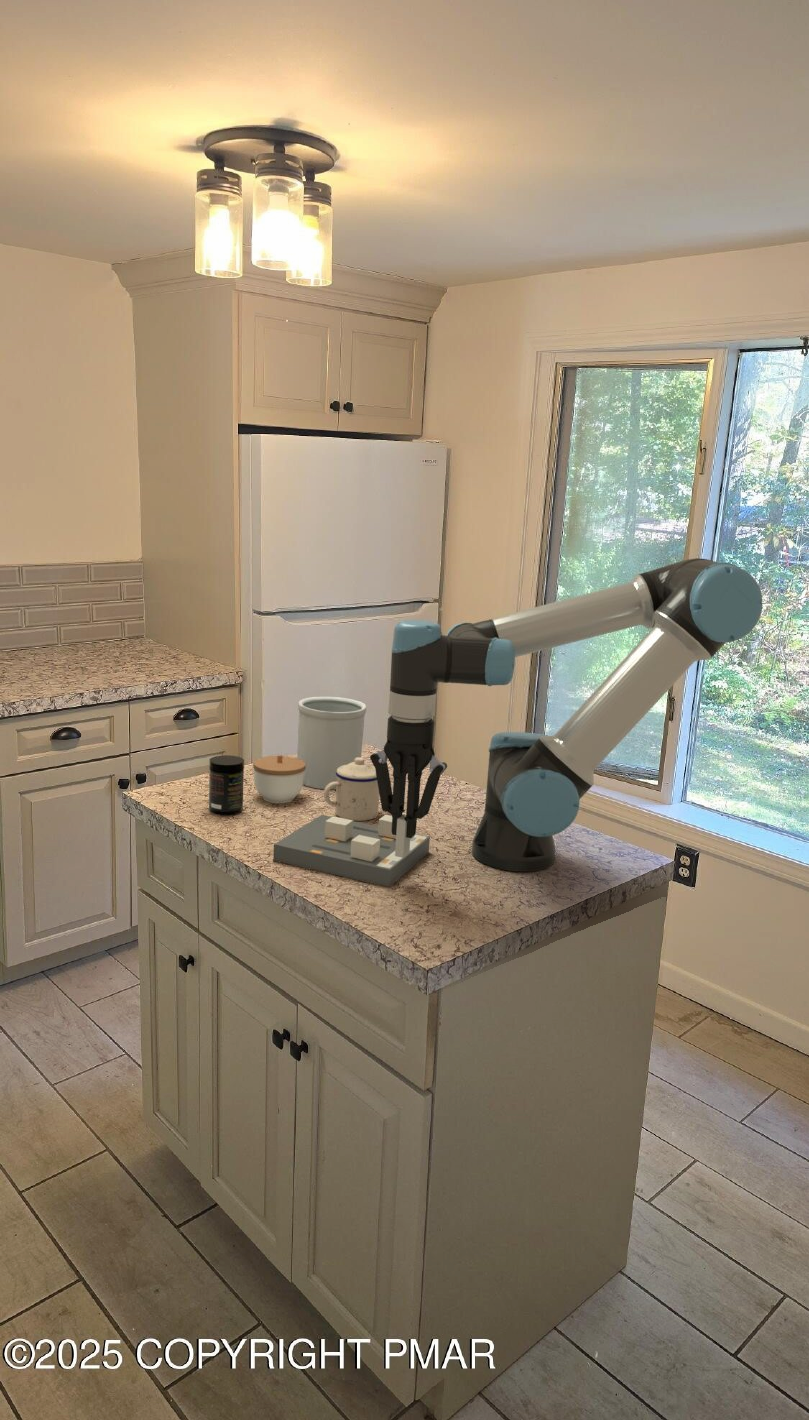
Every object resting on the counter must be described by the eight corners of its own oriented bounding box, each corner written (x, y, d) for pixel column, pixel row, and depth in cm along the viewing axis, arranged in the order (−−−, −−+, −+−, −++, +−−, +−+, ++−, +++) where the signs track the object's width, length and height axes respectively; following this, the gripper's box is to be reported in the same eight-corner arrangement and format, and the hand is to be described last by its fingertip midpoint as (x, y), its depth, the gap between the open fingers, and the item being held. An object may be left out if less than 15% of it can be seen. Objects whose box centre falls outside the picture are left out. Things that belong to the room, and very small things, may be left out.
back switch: (404, 834, 177) (405, 818, 176) (398, 839, 174) (399, 823, 174) (384, 830, 179) (385, 814, 178) (378, 835, 176) (378, 819, 175)
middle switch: (352, 836, 175) (353, 820, 174) (344, 841, 172) (345, 825, 171) (332, 832, 176) (333, 816, 175) (324, 837, 173) (325, 821, 173)
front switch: (379, 856, 166) (380, 839, 166) (371, 861, 163) (372, 844, 163) (358, 851, 168) (358, 834, 167) (350, 857, 165) (351, 840, 164)
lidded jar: (242, 795, 202) (243, 752, 200) (286, 788, 209) (287, 745, 207) (270, 810, 195) (271, 765, 192) (314, 802, 201) (316, 758, 199)
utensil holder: (371, 776, 221) (375, 701, 217) (348, 795, 207) (352, 714, 203) (311, 767, 225) (314, 693, 221) (284, 784, 211) (287, 706, 207)
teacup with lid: (365, 804, 202) (368, 750, 199) (387, 818, 194) (391, 762, 192) (313, 811, 195) (315, 755, 193) (334, 826, 188) (336, 768, 185)
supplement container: (249, 808, 195) (250, 758, 192) (232, 818, 189) (233, 767, 186) (219, 803, 197) (220, 753, 195) (201, 812, 191) (202, 761, 189)
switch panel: (428, 852, 178) (429, 836, 177) (389, 887, 161) (390, 869, 161) (321, 829, 186) (322, 814, 185) (273, 860, 169) (273, 843, 169)
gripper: (457, 718, 158) (446, 854, 164) (383, 706, 163) (375, 839, 168) (440, 727, 152) (430, 869, 157) (364, 715, 156) (357, 853, 162)
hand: (402, 854), depth 163 cm, fingers closed
